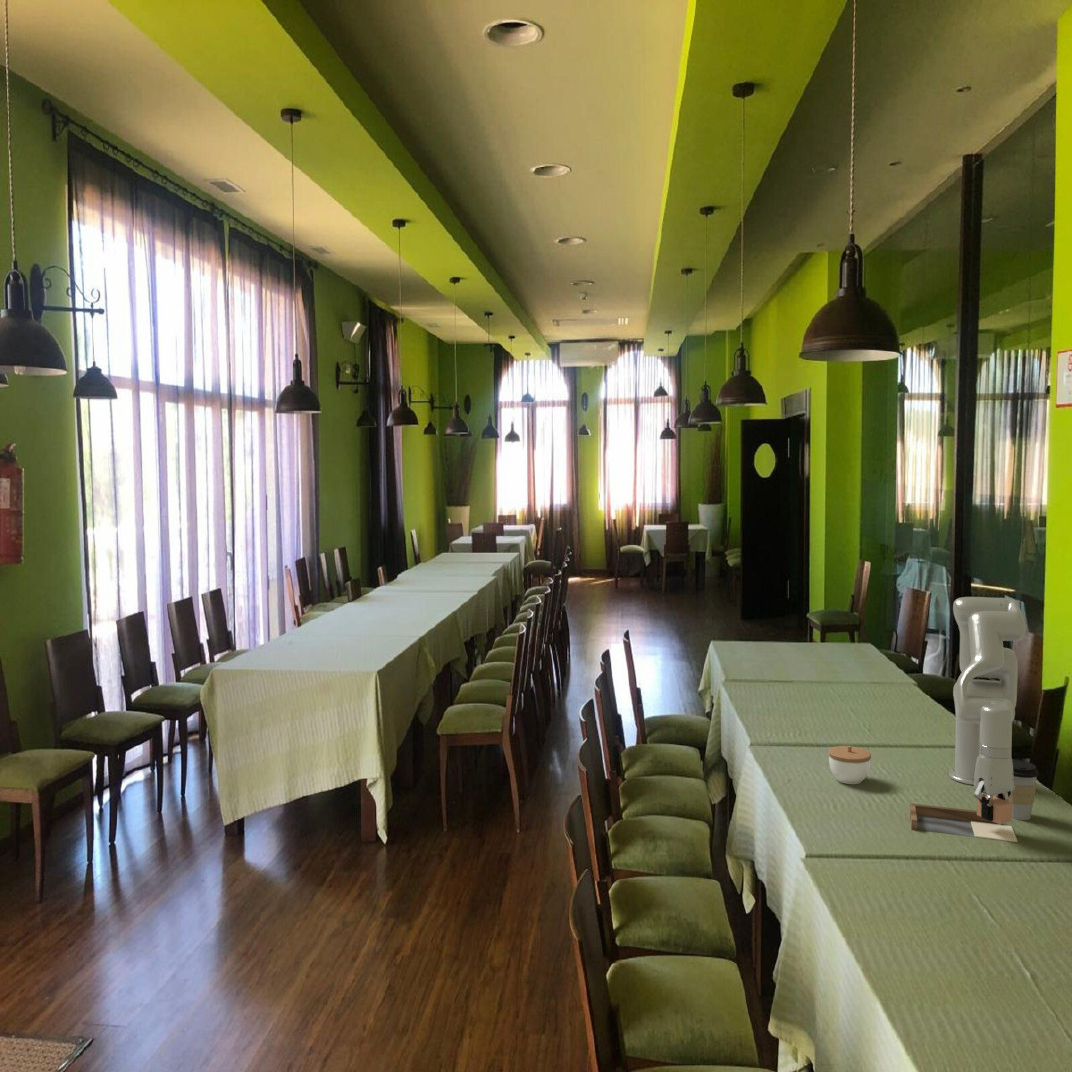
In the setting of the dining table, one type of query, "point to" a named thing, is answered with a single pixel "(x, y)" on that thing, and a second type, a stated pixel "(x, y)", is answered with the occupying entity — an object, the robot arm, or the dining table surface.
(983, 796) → the robot arm
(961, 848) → the dining table surface
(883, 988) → the dining table surface
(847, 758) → the lidded bowl
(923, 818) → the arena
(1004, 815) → the block
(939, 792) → the dining table surface
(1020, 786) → the coffee cup
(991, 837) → the pad
